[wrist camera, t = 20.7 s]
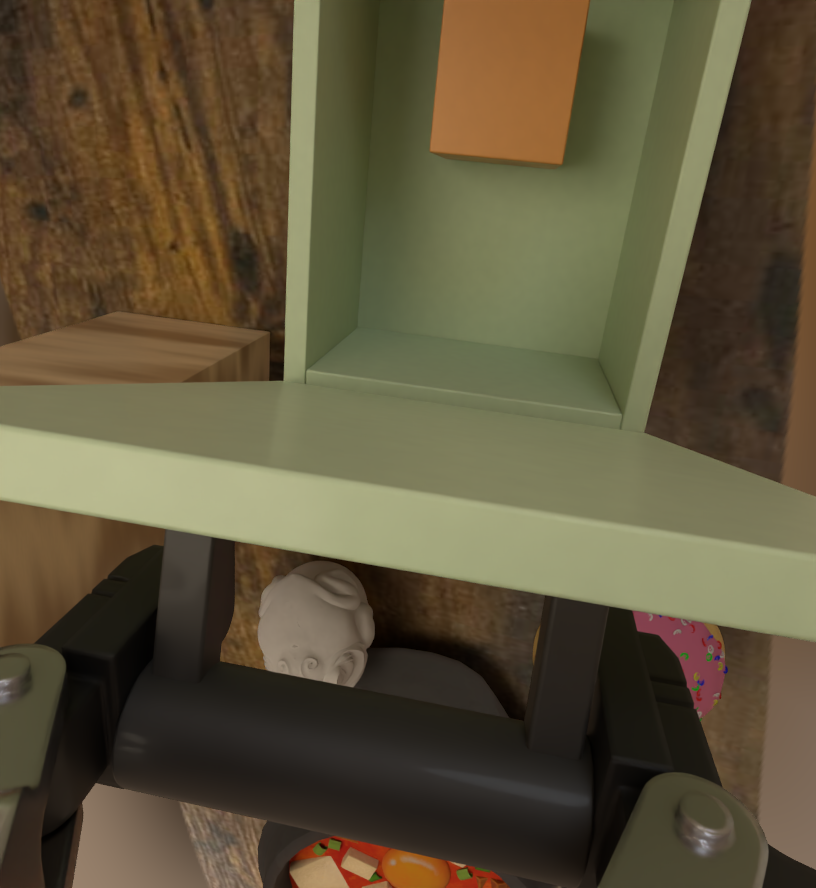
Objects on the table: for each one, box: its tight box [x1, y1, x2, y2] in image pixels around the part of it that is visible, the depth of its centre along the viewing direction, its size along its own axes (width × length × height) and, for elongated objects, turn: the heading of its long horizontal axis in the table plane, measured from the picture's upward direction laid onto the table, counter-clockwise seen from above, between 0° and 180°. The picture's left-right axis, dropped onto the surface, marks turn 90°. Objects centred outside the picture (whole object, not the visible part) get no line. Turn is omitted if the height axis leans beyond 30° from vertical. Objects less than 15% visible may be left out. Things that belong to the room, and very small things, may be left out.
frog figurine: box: [258, 561, 375, 687], centre depth 34 cm, size 6×7×7 cm
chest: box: [284, 0, 751, 433], centre depth 24 cm, size 16×13×9 cm
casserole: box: [258, 648, 567, 888], centre depth 38 cm, size 25×19×8 cm
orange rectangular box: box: [429, 0, 590, 169], centre depth 24 cm, size 5×5×5 cm
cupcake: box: [533, 610, 728, 721], centre depth 29 cm, size 9×8×12 cm
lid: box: [0, 381, 816, 888], centre depth 15 cm, size 16×13×5 cm
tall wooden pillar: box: [0, 311, 270, 647], centre depth 24 cm, size 8×8×22 cm
